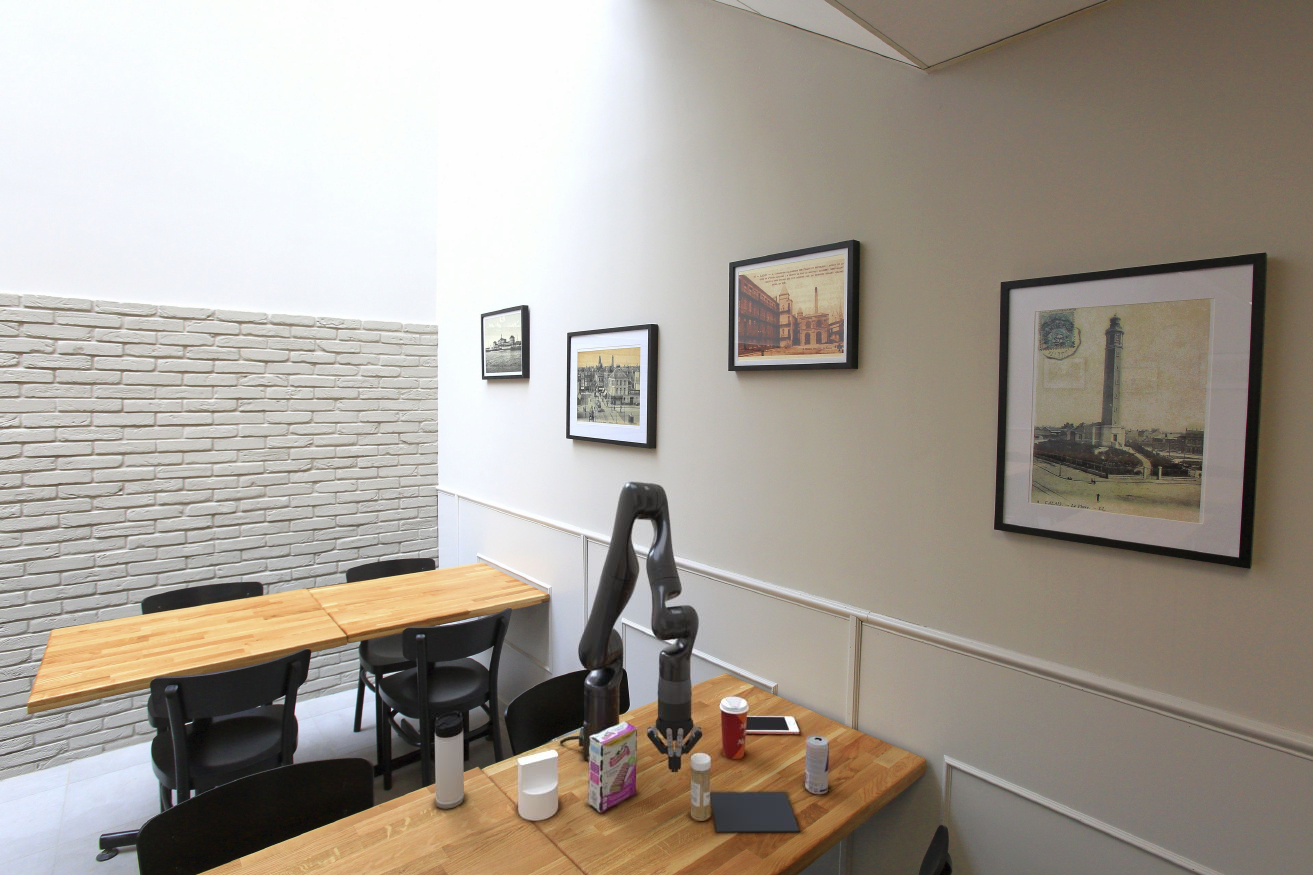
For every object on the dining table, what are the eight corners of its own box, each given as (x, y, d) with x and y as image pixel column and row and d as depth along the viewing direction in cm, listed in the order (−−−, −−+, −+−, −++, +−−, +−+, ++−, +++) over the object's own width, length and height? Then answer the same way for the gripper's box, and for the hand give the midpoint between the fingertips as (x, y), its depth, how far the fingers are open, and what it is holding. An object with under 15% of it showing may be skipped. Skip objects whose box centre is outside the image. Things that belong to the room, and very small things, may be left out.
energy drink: (829, 785, 159) (830, 737, 158) (825, 797, 154) (826, 747, 153) (807, 779, 161) (808, 732, 161) (803, 791, 156) (803, 742, 156)
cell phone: (799, 734, 183) (799, 731, 183) (735, 733, 183) (735, 730, 183) (793, 719, 192) (793, 716, 192) (732, 718, 192) (732, 715, 192)
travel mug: (470, 795, 154) (469, 712, 153) (452, 811, 148) (451, 725, 147) (447, 789, 156) (447, 708, 155) (429, 805, 150) (428, 721, 149)
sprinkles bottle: (713, 820, 145) (713, 761, 145) (693, 822, 144) (693, 763, 144) (706, 807, 150) (707, 750, 149) (687, 810, 149) (688, 753, 148)
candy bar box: (601, 814, 147) (601, 744, 146) (587, 804, 151) (587, 735, 150) (637, 794, 155) (638, 726, 154) (623, 785, 159) (624, 719, 158)
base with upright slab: (524, 824, 143) (524, 771, 143) (513, 802, 151) (513, 752, 151) (563, 813, 148) (563, 761, 147) (550, 792, 156) (550, 743, 155)
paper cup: (749, 761, 169) (750, 708, 169) (720, 760, 169) (720, 708, 169) (746, 745, 177) (746, 695, 176) (717, 745, 177) (718, 694, 177)
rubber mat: (716, 832, 141) (716, 830, 141) (710, 793, 155) (710, 792, 155) (799, 832, 142) (799, 830, 142) (785, 793, 156) (785, 791, 155)
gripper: (702, 687, 149) (702, 761, 150) (645, 687, 149) (645, 761, 150) (705, 702, 142) (705, 779, 143) (645, 702, 142) (644, 780, 143)
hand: (674, 770), depth 146 cm, fingers closed
